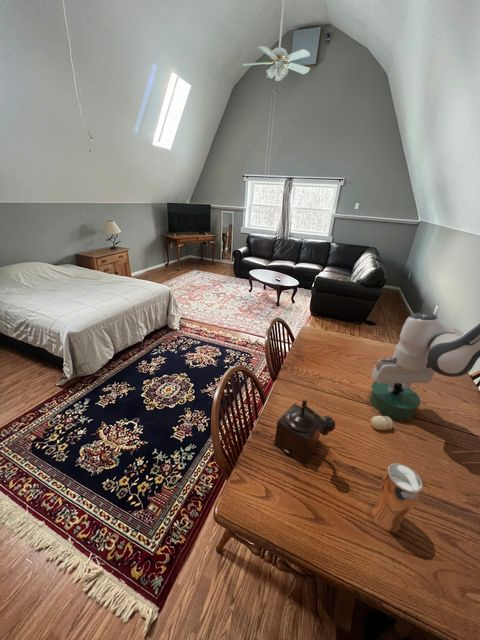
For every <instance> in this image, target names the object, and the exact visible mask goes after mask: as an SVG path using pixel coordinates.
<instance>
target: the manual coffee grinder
mask: <svg viewBox="0 0 480 640" xmlns="http://www.w3.org/2000/svg"><path fill="white" fill-rule="evenodd" d="M307 404H308V400H307V399H302V403H301V404H300V405H301V406H300V405H299V404H297V403H293V404H292V405H291V406H290V407H289V408H288V409H287V410H286V411H285V412H284V413H283V414H282V415H281V416H280V418H279V419H277V422H276V430H275V435H274V442H273V445H274V446H276V447H277V448H278V449H280V450H281V451H283V452H284V453H285V454H286V455H288V456H290V457H292V458H294V459H295V460H296V461H299V462H301V463H303V464H305V463H306V462H307V461H308V460H309V458H310V457H311V455H312V454H313V453H314V451H315V449H316V448H317V446H318V444H319V441H320V437H321V435H323V436H325V437H326V436H328V435H329V433H331V432H333V431H335V429H336V421H335V419H333V417H331V416H329V415H325V416H323V417H322V416H321V415H319V414H318V413H317V412H315V411H314V410H313V409H312V408H310V407H309V406H308V405H307Z"/></svg>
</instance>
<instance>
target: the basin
mask: <svg viewBox="0 0 480 640" xmlns="http://www.w3.org/2000/svg"><path fill="white" fill-rule="evenodd" d="M369 403H370V405H371V406H372V407H373V408H374V409H375V410H376V411H378V413H381V414H382V415H383V416H388V417H390V418H391V419H395V420H399V421H407V420H410V419H412V418H414V415H415V412H416V410H417V408H415V409H412V410H405V409H399V408H395V407H393V406H390V405H388V404H386V403H384V402H383V401H381V400H380V399H379V398H377V397H376V396H375V394H374V393H373V391H372V390H370V394H369Z"/></svg>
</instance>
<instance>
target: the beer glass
mask: <svg viewBox="0 0 480 640" xmlns="http://www.w3.org/2000/svg"><path fill="white" fill-rule="evenodd" d="M423 488H424V484H423V480H422V478H421V477H420V475H419V474H418V473H417V472H416V471H415V470H414V469H412V468H411V467H410V466H409V465H408V466H407V464H405V463H404V464H402V463H400V462H394V463H391V464H389V465H388V467H387V469H386V471H385V473H384V475H383V477H382V478H381V482H380V484H379V491H378V499H377V502H376V504H375V505H373V507H372V510H371V512H372V516H373V519H374V521H375V523H377V525H378V526H379V527H381V528H382V529H383V530H385V531H387V532H391V533H395V532H398V531H399V530H400V529H401V525H402V520H403V519H404V517H405V516H406V515H408V514H409V513H410V512H411V511H412V509H414V507H415V506H416V504H417V502H418V500H419V498H420V495H421V492H422V490H423Z"/></svg>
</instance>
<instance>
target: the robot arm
mask: <svg viewBox="0 0 480 640" xmlns="http://www.w3.org/2000/svg"><path fill="white" fill-rule="evenodd" d="M479 359H480V321H479V322H477V323H475V324H474V325H473V326H472V327H470V329H468V330H467V331H465V332H464V333H463V332H462V331H460V330H458V329H456V328H453V327H451V326H449V325H447V324H446V323H444V322H443V321H442V320H441V319H439V317H438V316H437V315H435V314H432V313H429V312H416V313H412V314H410V315H409V316H408V317H407V318H406V319H405V322H404V323H403V326H402V328H401V332H400V334H399V341H398V343H397V344H396V346H395V349H394V351H393V354H392V357H389V358H387V357H383V358H381V359H379V360H377V362H376V364H375V366H374V368H373V370H372V372H371V378H372V380H373V382H376V383H388V385H389V387H388V390H389V392H395V389H396V388H395V387H394V386H393V385H395V383H401V384H402V388H401V391H400V392H405V390H406V388H408V387H409V388H410V386H412V384H429V383H430V382H431V381H432V380H433V378H434V375H435V373H437V374H439V375H441V376H443V377H448V378H457V377H461V376H464V375H467V374H468V373H470V371H471V370H472V369H473V368H474V366H475V364H476V363H477V361H478V360H479Z"/></svg>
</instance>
